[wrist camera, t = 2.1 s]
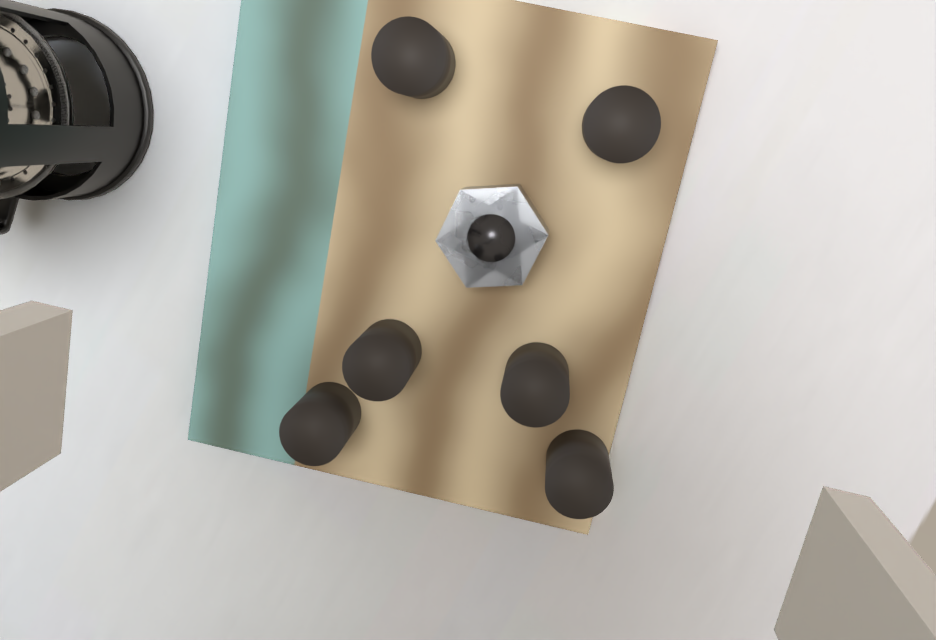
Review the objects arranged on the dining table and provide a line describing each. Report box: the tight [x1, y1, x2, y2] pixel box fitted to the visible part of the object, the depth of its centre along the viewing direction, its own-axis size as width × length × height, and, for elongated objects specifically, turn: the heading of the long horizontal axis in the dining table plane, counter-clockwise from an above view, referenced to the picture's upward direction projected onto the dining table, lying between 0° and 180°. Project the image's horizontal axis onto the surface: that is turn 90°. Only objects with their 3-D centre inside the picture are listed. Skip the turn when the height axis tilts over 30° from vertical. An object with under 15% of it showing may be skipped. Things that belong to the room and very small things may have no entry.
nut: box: [435, 184, 549, 288], centre depth 37 cm, size 5×4×2 cm
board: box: [188, 0, 718, 535], centre depth 38 cm, size 22×25×4 cm
